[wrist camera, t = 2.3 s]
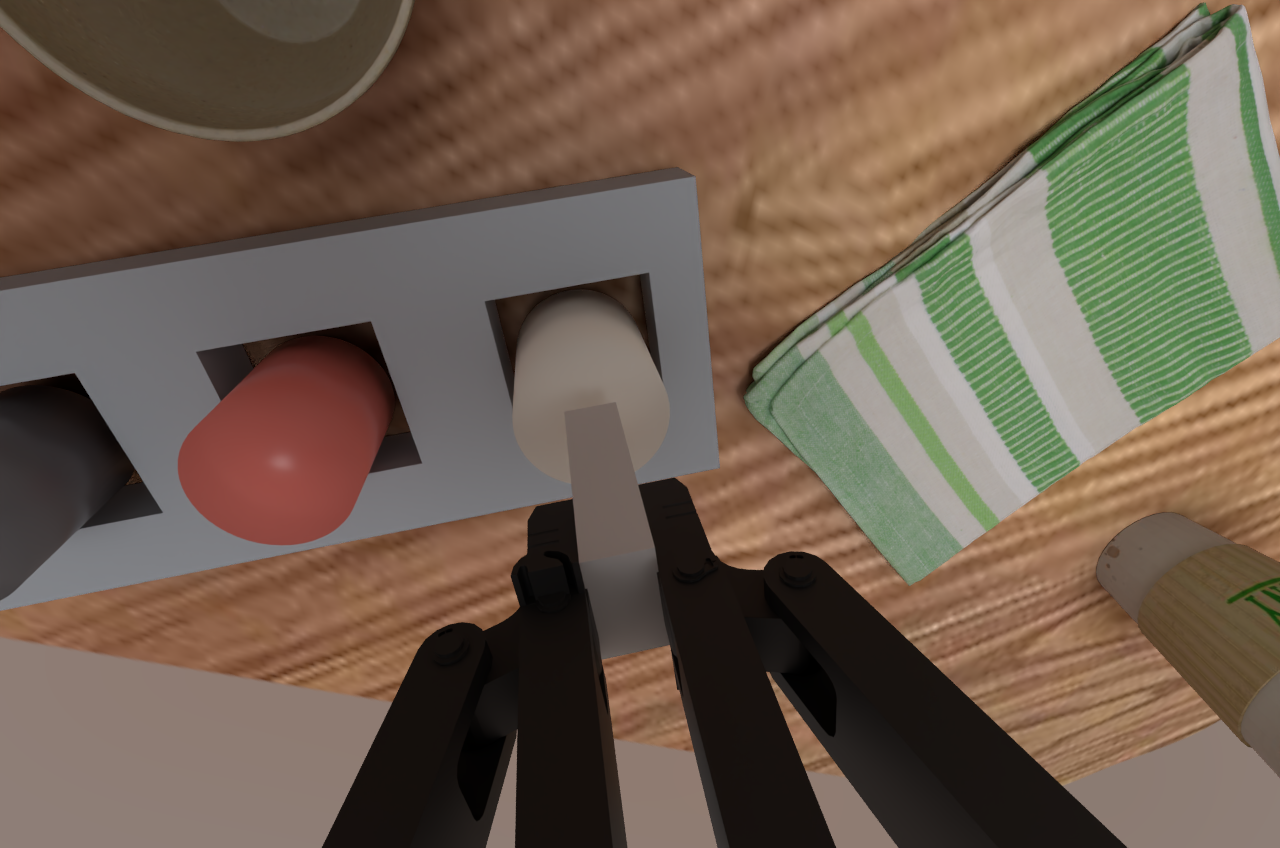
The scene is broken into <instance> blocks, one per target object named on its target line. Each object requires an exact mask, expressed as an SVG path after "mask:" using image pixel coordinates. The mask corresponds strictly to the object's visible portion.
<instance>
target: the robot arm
mask: <svg viewBox="0 0 1280 848" xmlns="http://www.w3.org/2000/svg"><path fill="white" fill-rule="evenodd" d="M564 414H565V424H566V435H567V445H568V455H569V465H570V475H571V486H572V496H573V499H571V500H566V501H561V502H556V503H551V504H546V505H541V506H536V508H535V509H534V511H533V513H532V514H531V516H530V518H529V519H528V544H527V546H528V549H527V555H525V556H524V557H522V558H521V559H520V560H519V561H518V562H517V563H516V565H515V566H514V567H513V570H512V573H511V579H512V582H513V585H514V588H515V592H516V595H517V598H518V601H519V605H520V608H519V609H518V610H517V611H516V612H515V613H514V614H513V615H512V616H510V617H509V618H508V619H506V620H504V621H503V622H501V623H499V624H497V625H495V626H493V627H491V628H489V629H487V630H485V631H482V629H481V628H479V627H478V626H476V625H475V624H471V623H464V622H461V623H456V624H450V625H448V626H445V627H443V628H441V629H439V630H437V631H435V632H434V633H433V634H432V635H430V636H429V637H428V638H427V639H425V641H424V642H423V644H422V645H421V647H420V648H419V649H418V651H417V653H416V655H415V657H414V659H413V661H412V663H411V665H410V667H409V670H408V672H407V674H406V676H405V678H404V680H403V682H402V684H401V686H400V688H399V690H398V692H397V694H396V696H395V698H394V700H393V702H392V705H391V707H390V709H389V711H388V713H387V715H386V717H385V719H384V721H383V723H382V725H381V727H380V729H379V731H378V733H377V735H376V738H375V740H374V742H373V744H372V746H371V748H370V750H369V752H368V754H367V756H366V758H365V760H364V762H363V764H362V766H361V768H360V770H359V773H358V774H357V776H356V779H355V781H354V783H353V785H352V787H351V789H350V791H349V793H348V795H347V797H346V799H345V802H344V803H343V805H342V807H341V809H340V811H339V814H338V816H337V818H336V820H335V822H334V824H333V826H332V828H331V830H330V832H329V834H328V836H327V838H326V840H325V842H324V844H323V846H322V848H486V844H487V841H488V837H489V833H490V830H491V826H492V823H493V819H494V815H495V812H496V808H497V804H498V801H499V797H500V794H501V790H502V786H503V783H504V779H505V776H506V772H507V768H508V765H509V761H510V757H511V754H512V750H513V746H514V743H515V739H516V733H517V729H518V736H517V737H518V738H517V783H516V829H515V833H516V834H515V848H627V841H626V833H625V825H624V817H623V810H622V802H621V794H620V786H619V779H618V770H617V763H616V755H615V748H614V739H613V731H612V723H611V716H610V708H609V700H608V692H607V684H606V678H605V674H604V670H603V666H602V659H607V658H611V657H616V656H620V655H625V654H630V653H634V652H639V651H644V650H648V649H653V648H657V647H662V646H667V645H670V647H671V652H672V659H673V665H674V672H675V678H676V684H677V690H680V694H681V698H682V703H683V707H684V711H685V715H686V719H687V723H688V727H689V731H690V736H691V740H692V744H693V748H694V752H695V756H696V760H697V764H698V769H699V773H700V777H701V781H702V785H703V789H704V793H705V798H706V801H707V806H708V810H709V814H710V818H711V822H712V826H713V831H714V835H715V838H716V843H717V847H718V848H836V846H835V844H834V841H833V839H832V836H831V834H830V831H829V829H828V826H827V824H826V821H825V819H824V816H823V814H822V811H821V809H820V806H819V804H818V801H817V799H816V796H815V794H814V791H813V789H812V786H811V784H810V781H809V779H808V776H807V774H806V771H805V768H804V766H803V763H802V761H801V758H800V756H799V753H798V751H797V748H796V746H795V743H794V741H793V738H792V736H791V733H790V731H789V728H788V726H787V723H786V721H785V718H784V716H783V713H782V711H781V708H780V706H779V703H778V701H777V698H776V696H775V693H774V691H773V688H772V686H771V683H770V681H769V678H768V676H767V673H766V672H770V674H771V676H772V678H773V679H774V681H775V682H776V683H777V685H778V686H779V687H780V689H781V690H782V691H783V693H784V694H785V695H786V697H787V698H788V699H789V701H790V702H791V703H792V705H793V706H794V708H795V709H796V710H797V712H798V713H799V714H800V716H801V717H802V718H803V720H804V721H805V722H806V724H807V725H808V726H809V728H810V729H811V730H812V732H813V733H814V734H815V736H816V737H817V739H818V740H819V741H820V743H821V744H822V745H823V747H824V748H825V749H826V751H827V752H828V753H829V755H830V756H831V757H832V759H833V760H834V761H835V763H836V764H837V765H838V767H839V768H840V770H841V771H842V772H843V774H844V775H845V776H846V778H847V779H848V780H849V782H850V783H851V784H852V786H853V787H854V788H855V790H856V791H857V792H858V794H859V795H860V796H861V798H862V799H863V800H864V802H865V803H866V805H867V806H868V807H869V809H870V810H871V811H872V813H873V814H874V815H875V817H876V818H877V819H878V820H879V822H880V823H881V825H882V826H883V827H884V829H885V830H886V832H887V833H888V834H889V836H890V837H891V838H892V839H893V841H894V842H895V844H896V845H897V846H898V848H1127V847H1126V846H1125V845H1124V844H1123V843H1122V842H1121V841H1120V840H1119V839H1118V838H1117V837H1116V836H1114V835H1113V834H1112V833H1111V832H1110V831H1109V830H1108V829H1107V828H1106V827H1105V826H1104V825H1103V824H1102V823H1101V822H1100V821H1099V820H1098V819H1097V818H1096V817H1094V816H1093V815H1092V814H1091V813H1090V812H1089V811H1088V810H1087V809H1086V808H1085V807H1084V806H1083V805H1082V804H1081V803H1080V802H1079V801H1078V800H1077V799H1075V798H1074V797H1073V796H1072V795H1071V794H1070V793H1069V792H1068V791H1067V790H1066V789H1065V788H1064V787H1063V786H1062V785H1061V784H1060V783H1059V782H1057V781H1056V780H1055V779H1054V778H1053V777H1052V776H1051V775H1050V774H1049V773H1048V772H1047V771H1046V770H1045V769H1044V768H1043V767H1042V766H1041V765H1040V764H1038V763H1037V762H1036V761H1035V760H1034V759H1033V758H1032V757H1031V756H1030V755H1029V754H1028V753H1027V752H1026V751H1025V750H1024V749H1023V748H1022V747H1020V746H1019V745H1018V744H1017V743H1016V742H1015V741H1014V740H1013V739H1012V738H1011V737H1010V736H1009V735H1008V734H1007V733H1006V732H1005V731H1004V730H1003V729H1001V728H1000V727H999V726H998V725H997V724H996V723H995V722H994V721H993V720H992V719H991V718H990V717H989V716H988V715H987V714H986V713H985V712H984V711H982V710H981V709H980V708H979V707H978V706H977V705H976V704H975V703H974V702H973V701H972V700H971V699H970V698H969V697H968V696H967V695H966V694H964V693H963V692H962V691H961V690H960V689H959V688H958V687H957V686H956V685H955V684H954V683H953V682H952V681H951V680H950V679H949V678H948V677H947V676H945V675H944V674H943V673H942V672H941V671H940V670H939V669H938V668H937V667H936V666H935V665H934V664H933V663H932V662H931V661H930V660H929V659H928V658H926V657H925V656H924V655H923V654H922V653H921V652H920V651H919V650H918V649H917V648H916V647H915V646H914V645H913V644H912V643H911V642H910V641H908V640H907V639H906V638H905V637H904V636H903V635H902V634H901V633H900V632H899V631H898V630H897V629H896V628H895V627H894V626H893V625H892V624H891V623H889V622H888V621H887V620H886V619H885V618H884V617H883V616H882V615H881V614H880V613H879V612H878V611H877V610H876V609H875V608H874V607H873V606H871V605H870V604H869V603H868V602H867V601H866V600H865V599H864V598H863V597H862V596H861V595H860V594H859V593H858V592H857V591H856V590H855V589H854V588H852V587H851V586H850V585H849V584H848V583H847V582H846V581H845V580H844V579H843V578H842V577H841V576H840V575H839V574H838V573H837V572H836V571H835V570H833V569H832V568H831V567H830V566H829V565H828V564H827V563H826V562H825V561H823V560H822V559H820V558H819V557H817V556H815V555H812V554H809V553H805V552H786V553H782V554H778V555H777V556H775V557H774V558H772V559H770V560H769V561H768V563H767V564H766V566H765V567H764V570H746V569H738V568H735V567H731V566H728V565H727V564H725V563H723V562H721V561H720V559H719V558H718V557H717V556H715V555H714V553H713V552H712V550H711V547H710V545H709V542H708V540H707V537H706V535H705V532H704V529H703V527H702V524H701V522H700V519H699V517H698V514H697V513H696V509H695V506H694V504H693V502H692V499H691V496H690V494H689V491H688V489H687V487H686V486H685V485H683V484H682V483H681V482H680V481H678V480H677V479H676V478H670V479H665V480H660V481H655V482H650V483H645V484H640V485H638V483H637V479H636V475H635V472H634V468H633V464H632V460H631V457H630V453H629V449H628V446H627V442H626V438H625V434H624V431H623V427H622V423H621V419H620V416H619V412H618V408H617V405H616V402H613V403H607V404H602V405H597V406H592V407H586V408H581V409H576V410H570V411H565V412H564ZM601 658H602V659H601Z"/></svg>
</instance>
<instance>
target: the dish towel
mask: <svg viewBox="0 0 1280 848" xmlns="http://www.w3.org/2000/svg"><path fill="white" fill-rule="evenodd" d="M1278 338H1280V158H1279V153H1278V149H1277V145H1276V140H1275V137H1274V133H1273V129H1272V126H1271V122H1270V118H1269V112H1268V106H1267V100H1266V94H1265V88H1264V83H1263V78H1262V74H1261V70H1260V66H1259V62H1258V59H1257V55H1256V52H1255V48H1254V44H1253V39H1252V34H1251V29H1250V24H1249V20H1248V15H1247V11H1246V9H1245V6H1243V5H1235V4H1232V5H1229V6H1227V7H1225V8H1223V9H1222V10H1220V11H1218V12H1216V13H1214V14H1212V15H1210V13H1209V11H1208V9H1207V6H1206V3H1201V4H1199V5H1198V6H1197V7H1196V8H1195V9H1194V10H1193V11H1192V12H1191V13H1190V14H1189V15H1188V17H1186V18H1185V19H1184V20H1183V21H1182V22H1181V23H1180V24H1179V25H1178V26H1177V27H1176V28H1175V29H1174V30H1173V31H1172V32H1171V33H1169V34H1168V35H1167V36H1165V37H1164V38H1163V39H1162V40H1160V41H1159V42H1157V43H1156V44H1155V45H1153V46H1152V47H1150V48H1149V49H1147V50H1146V51H1144V52H1143V53H1141V54H1140V55H1139V56H1138V57H1137V58H1136V59H1135V60H1134V61H1133V62H1132V63H1130V64H1129V65H1128V66H1126V67H1125V68H1123V69H1122V70H1120V71H1119V72H1118V73H1116V74H1115V75H1113V76H1112V77H1111V78H1110V79H1109V80H1108V81H1106V82H1105V83H1104V84H1103V85H1102V86H1101V87H1100V88H1099V89H1098V90H1097V91H1096V92H1095V93H1093V94H1092V95H1091V96H1089V97H1088V98H1087V99H1085V100H1084V101H1082V102H1081V103H1080V104H1078V105H1077V106H1075V107H1074V108H1072V109H1071V110H1070V111H1069V112H1068V113H1066V114H1065V115H1064V116H1063V117H1062V118H1061V119H1060V120H1059V121H1058V122H1057V123H1056V124H1054V125H1053V126H1052V127H1051V128H1050V129H1049V130H1048V131H1047V132H1046V133H1045V134H1044V135H1043V136H1042V137H1041V138H1039V139H1038V140H1037V141H1036V142H1034V143H1033V144H1031V145H1030V146H1028V147H1027V148H1026V149H1025V150H1024V151H1023V152H1022V153H1020V154H1019V155H1018V156H1017V157H1015V158H1014V159H1013V160H1012V161H1011V162H1010V163H1008V164H1007V165H1006V166H1005V167H1004V168H1003V169H1002V170H1001V171H999V172H998V173H997V174H996V175H994V176H993V177H992V178H991V179H990V180H988V181H987V182H986V183H984V184H983V185H982V186H981V187H979V188H978V189H977V190H975V191H974V192H973V193H971V194H970V195H969V196H967V197H966V198H965V199H964V200H962V201H961V202H960V203H958V204H957V205H956V206H954V207H953V208H952V209H950V210H949V211H947V212H946V213H944V214H943V215H942V216H941V217H939V218H938V219H936V220H935V221H934V222H933V223H932V224H931V225H929V226H928V227H927V228H926V229H925V230H924V231H923V232H922V233H921V234H920V235H919V236H918V237H917V238H916V239H915V240H914V242H913V243H912V244H911V245H910V246H909V247H907V248H906V249H905V250H903V251H902V252H900V253H899V254H898V255H896V256H895V257H894V258H892V259H891V260H890V261H889V262H888V263H887V264H886V265H885V266H884V267H882V268H881V269H879V270H878V271H876V272H874V273H873V274H871V275H870V276H868V277H866V278H865V279H863V280H862V281H860V282H858V283H857V284H855V285H854V286H852V287H851V288H849V289H848V290H847V291H845V292H844V293H843V294H842V295H840V296H839V297H838V298H837V299H835V300H834V301H832V302H831V303H829V304H828V305H827V306H825V307H824V308H823V309H821V310H820V311H818V312H817V313H815V314H814V315H813V316H811V317H810V318H809V319H807V320H806V321H805V322H803V323H802V324H801V325H799V326H798V327H797V328H796V329H795V330H794V331H793V332H792V333H791V334H790V335H789V336H788V337H786V338H785V339H784V340H783V341H782V342H781V343H780V344H779V345H778V346H777V347H775V348H774V349H773V350H772V352H771V353H770V354H769V355H768V356H767V357H766V358H764V359H763V360H762V361H761V362H760V363H759V364H758V365H757V366H756V367H755V368H753V375H752V377H753V379H754V380H755V381H754V382H753V383H751V384H750V386H749V387H748V388H747V390H746V392H747V393H746V394H745V395H744V397H743V398H744V400H745V404H746V406H747V408H748V409H749V411H750V412H751V414H752V415H753V416H754V417H755V418H756V420H757V421H759V422H760V423H761V424H762V425H763V426H764V427H766V428H767V429H768V430H769V431H770V432H771V433H772V434H773V435H775V436H776V437H777V438H778V439H779V440H780V441H781V442H782V443H783V444H784V445H785V446H786V447H787V448H788V449H790V450H791V451H792V452H793V453H794V454H795V455H796V456H798V457H799V458H800V459H801V460H802V461H803V462H804V463H806V464H807V465H808V466H809V467H810V468H811V469H812V470H813V471H814V472H816V474H817V475H818V476H819V477H820V479H821V480H822V481H823V482H824V483H825V484H826V486H827V487H828V488H829V489H830V491H831V492H832V493H833V494H834V496H835V497H836V498H837V500H838V501H839V502H840V503H841V505H842V506H843V507H844V508H845V510H846V511H847V512H848V513H849V514H850V516H851V517H852V518H853V519H854V521H855V522H856V523H857V524H858V525H859V527H860V528H861V529H862V531H863V532H864V533H865V534H866V536H867V537H868V538H869V539H870V540H871V542H872V543H873V544H874V545H875V546H876V548H877V549H878V550H879V551H880V552H881V553H882V555H883V556H884V557H885V559H886V560H887V561H888V562H889V563H890V564H891V566H892V567H893V568H894V569H895V570H896V571H897V573H898V574H900V576H901V577H902V578H903V579H904V580H905V582H906V583H907V584H908V585H909V586H910V585H912V584H913V583H915V582H917V581H920V580H921V579H923V578H924V577H925V576H927V575H928V574H930V573H931V572H932V571H934V570H935V569H936V568H938V567H939V566H941V565H942V564H943V563H945V562H946V561H948V560H949V559H950V558H951V557H953V556H954V555H955V554H956V553H958V552H959V551H961V550H962V549H963V548H965V547H966V546H967V545H969V544H970V543H971V542H973V541H974V540H975V539H977V538H978V537H980V536H981V535H983V534H984V533H986V532H987V531H989V530H990V529H992V528H993V527H994V526H996V525H997V524H998V523H999V522H1001V521H1002V520H1003V519H1005V518H1006V517H1008V516H1009V515H1011V514H1012V513H1013V512H1015V511H1016V510H1017V509H1019V508H1020V507H1022V506H1023V505H1025V504H1026V503H1027V502H1029V501H1030V500H1031V499H1033V498H1034V497H1036V496H1037V495H1038V494H1040V493H1042V492H1043V491H1044V490H1046V489H1047V488H1048V487H1049V486H1051V485H1052V484H1054V483H1055V482H1056V481H1058V480H1060V479H1061V478H1063V477H1064V476H1066V475H1067V474H1068V473H1070V472H1071V471H1073V470H1074V469H1076V468H1077V467H1078V466H1080V465H1081V464H1082V463H1083V462H1085V461H1086V460H1088V459H1089V458H1092V457H1094V456H1095V455H1097V454H1098V453H1099V452H1101V451H1102V450H1104V449H1105V448H1107V447H1108V446H1110V445H1111V444H1112V443H1114V442H1115V441H1117V440H1118V439H1120V438H1121V437H1123V436H1124V435H1126V434H1127V433H1129V432H1130V431H1132V430H1133V429H1135V428H1136V427H1138V426H1140V425H1142V424H1144V423H1146V422H1148V421H1149V420H1151V419H1153V418H1154V417H1156V416H1157V415H1159V414H1161V413H1162V412H1164V411H1165V410H1167V409H1169V408H1170V407H1172V406H1174V405H1176V404H1177V403H1179V402H1180V401H1182V400H1184V399H1185V398H1187V397H1188V396H1190V395H1191V394H1192V393H1194V392H1195V391H1197V390H1199V389H1200V388H1202V387H1203V386H1205V385H1206V384H1207V383H1208V382H1209V381H1211V380H1212V379H1214V378H1216V377H1218V376H1220V375H1221V374H1223V373H1225V372H1226V371H1228V370H1229V369H1231V368H1232V367H1234V366H1235V365H1237V364H1239V363H1240V362H1242V361H1243V360H1245V359H1247V358H1248V357H1250V356H1251V355H1253V354H1254V353H1256V352H1257V351H1259V350H1261V349H1262V348H1264V347H1265V346H1267V345H1268V344H1270V343H1272V342H1273V341H1275V340H1277V339H1278Z"/></svg>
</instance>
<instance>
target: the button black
mask: <svg viewBox="0 0 1280 848" xmlns="http://www.w3.org/2000/svg"><path fill="white" fill-rule="evenodd" d="M134 469H135V467H134V466H133V464H132V463H131V461H130V460H129V458H128V456H127V455H126V453H125V452H124V450H123V448H122V447H121V445H120V444H119V442H118V441H117V439H116V437H115V436H114V434H113V433H112V431H111V429H110V428H109V426H108V425H107V423H106V421H105V420H104V418H103V417H102V415H101V414H100V412H99V410H98V409H97V407H96V406H95V404H94V402H93V401H92V400H90V399H88V398H86V397H84V396H82V395H79V394H77V393H74V392H72V391H68V390H65V389H61V388H56V387H51V386H42V385H27V386H19V387H14V388H10V389H8V390H5V391H2V392H0V600H2V599H4V598H6V597H8V596H9V595H10V594H12V593H13V592H14V591H15V590H16V589H17V588H18V587H20V586H21V585H22V584H23V583H24V582H25V581H26V580H27V579H28V578H29V577H30V576H31V575H32V574H33V573H34V572H35V571H36V570H37V569H38V568H39V567H40V566H41V565H42V564H43V563H44V562H45V561H46V560H48V559H49V558H50V557H51V556H52V555H53V554H54V553H55V552H56V551H57V550H58V549H59V548H60V547H61V546H62V545H63V544H64V543H65V542H66V541H67V540H68V539H69V538H70V537H71V536H72V535H73V534H74V533H76V532H77V531H78V530H79V529H80V528H81V527H82V526H83V525H84V524H85V523H86V522H87V521H88V520H89V519H90V518H91V517H92V516H93V515H94V514H95V513H96V512H97V511H98V510H99V509H100V508H101V507H103V506H104V505H105V504H106V503H107V502H108V501H109V500H110V499H111V498H112V497H113V496H114V495H115V494H116V493H117V492H118V491H119V490H120V489H121V488H122V487H123V486H124V485H125V484H126V483H127V482H128V481H129V479H130V478H131V476H132V475H133V472H134Z"/></svg>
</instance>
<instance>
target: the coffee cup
mask: <svg viewBox="0 0 1280 848" xmlns="http://www.w3.org/2000/svg"><path fill="white" fill-rule="evenodd" d="M1096 574H1097V579H1098V581H1099V583H1100V584H1101V585H1102V586H1103V587H1104V588H1105V590H1106V591H1107V592H1108V593H1109V594H1110V595H1111V596H1112V597H1113V598H1114V599H1115V600H1116V601H1117V602H1118V604H1119V605H1120V606H1121V607H1122V608H1123V609H1124V610H1125V611H1126V612H1127V613H1128V614H1129V615H1130V616H1131V618H1132V619H1133V620H1134V621H1135V622H1136V623H1137V624H1138V626H1139V628H1140V630H1141V632H1142V633H1143V634H1144V635H1145V637H1146V638H1147V639H1148V640H1149V641H1150V642H1151V643H1152V644H1153V645H1154V646H1155V647H1156V649H1157V650H1158V651H1159V652H1160V653H1161V654H1162V655H1163V656H1164V657H1165V658H1166V659H1167V661H1168V662H1169V663H1170V664H1171V665H1172V666H1173V667H1174V668H1175V669H1176V670H1177V672H1178V673H1179V674H1180V675H1181V676H1182V677H1183V678H1184V679H1185V680H1186V681H1187V682H1188V684H1189V685H1190V686H1191V687H1192V688H1193V689H1194V690H1195V691H1196V692H1197V693H1198V695H1199V696H1200V697H1201V698H1202V699H1203V700H1204V701H1205V702H1206V703H1207V704H1208V705H1209V707H1210V708H1211V709H1212V710H1213V711H1214V712H1215V713H1216V714H1217V715H1218V716H1219V718H1220V719H1221V720H1222V721H1223V722H1224V723H1225V724H1226V725H1227V726H1228V727H1229V728H1230V730H1231V731H1232V732H1233V733H1234V734H1235V735H1236V736H1237V737H1238V738H1239V739H1240V741H1241V742H1243V743H1244V744H1245V745H1246V746H1248V747H1251V748H1253V749H1254V750H1255V751H1256V753H1257V754H1258V755H1259V756H1260V757H1261V758H1262V759H1263V760H1264V761H1265V762H1266V763H1267V764H1268V766H1269V767H1270V768H1271V769H1272V770H1273V771H1274V772H1275V773H1276V774H1277V775H1278V776H1279V778H1280V562H1278V561H1276V560H1274V559H1272V558H1270V557H1268V556H1266V555H1264V554H1262V553H1260V552H1258V551H1256V550H1254V549H1252V548H1250V547H1248V546H1245V545H1240V544H1236V543H1234V542H1232V541H1230V540H1228V539H1226V538H1225V537H1223V536H1221V535H1219V534H1217V533H1215V532H1213V531H1211V530H1209V529H1207V528H1205V527H1203V526H1201V525H1199V524H1197V523H1195V522H1193V521H1191V520H1190V519H1188V518H1186V517H1184V516H1182V515H1180V514H1176V513H1159V514H1154V515H1151V516H1148V517H1145V518H1143V519H1141V520H1139V521H1137V522H1135V523H1133V524H1132V525H1130V526H1128V527H1127V528H1125V529H1124V530H1123V531H1122V532H1120V533H1119V534H1118V535H1117V536H1116V537H1115V538H1114V539H1113V540H1112V541H1111V542H1110V543H1109V544H1108V546H1107V547H1106V548H1105V549H1104V551H1103V553H1102V555H1101V556H1100V558H1099V561H1098V564H1097V570H1096Z"/></svg>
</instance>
